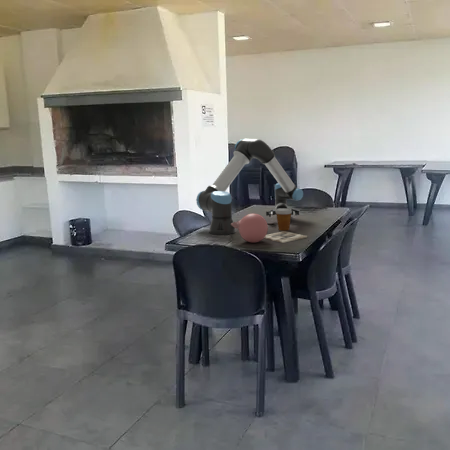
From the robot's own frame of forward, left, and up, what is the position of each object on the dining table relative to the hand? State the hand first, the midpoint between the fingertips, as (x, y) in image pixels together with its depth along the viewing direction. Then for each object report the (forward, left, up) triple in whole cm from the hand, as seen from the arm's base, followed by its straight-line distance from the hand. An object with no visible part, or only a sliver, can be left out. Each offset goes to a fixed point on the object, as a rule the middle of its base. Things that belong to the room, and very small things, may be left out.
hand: (283, 215), depth 315 cm
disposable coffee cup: (+7, -6, -7) cm, 12 cm away
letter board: (+22, -20, -6) cm, 31 cm away
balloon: (+17, -40, -7) cm, 44 cm away
